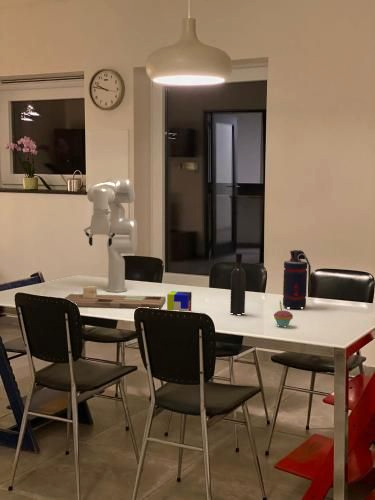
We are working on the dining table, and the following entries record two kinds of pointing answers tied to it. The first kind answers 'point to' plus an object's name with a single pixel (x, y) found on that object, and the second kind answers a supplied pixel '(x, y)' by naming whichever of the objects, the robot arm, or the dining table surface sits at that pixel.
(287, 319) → the cupcake
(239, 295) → the wine bottle
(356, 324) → the dining table surface
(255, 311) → the dining table surface
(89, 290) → the maple block
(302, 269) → the grenade
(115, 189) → the robot arm
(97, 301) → the trap deck
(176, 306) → the puzzle toy
